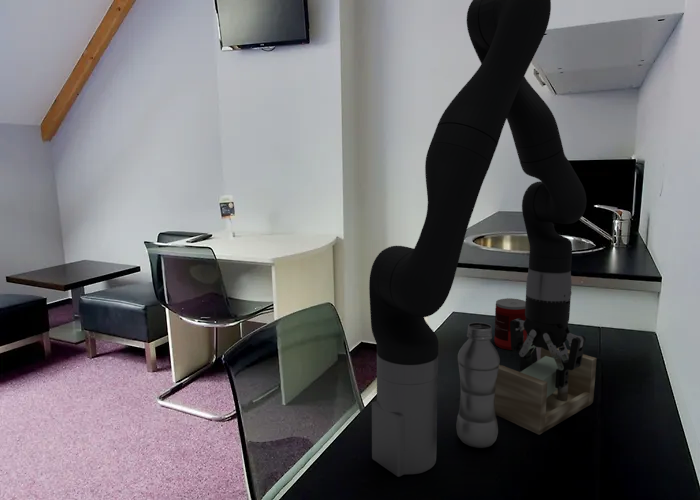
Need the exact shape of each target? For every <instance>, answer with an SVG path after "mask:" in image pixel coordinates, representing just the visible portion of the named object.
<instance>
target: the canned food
mask: <svg viewBox="0 0 700 500" xmlns="http://www.w3.org/2000/svg"><path fill="white" fill-rule="evenodd" d="M525 302H526V300H524V299H520V298H511V297H510V298H508V297H507V298H500V299H497V300H496V302H495V308H494V309H495V313H494V337H493V338H494V340H493V341H494V344H495V345H494V346H496V347H498V348H500V349H502V350H507V351H513V350H512V349H511V335H510V321H512V320H515V319H518V318H521V319H522V320H523V321H525V320H526V316H525ZM523 337H524V342H525V340H526V339H527V337H528V334H527V332H526V330H525V328H524V330H523Z"/></svg>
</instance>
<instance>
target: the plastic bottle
mask: <svg viewBox="0 0 700 500" xmlns="http://www.w3.org/2000/svg"><path fill="white" fill-rule="evenodd" d="M492 326H493V325H491V324H489V323H487V322H486V323H485V322H477V321H476V322H470V323H468V325H467V332H466V337H467V338H468V339H467V340H466V341H465V342H464V343H463V345H462V346H461V347H460V349H459V351H458V354H457V363H458V371H459V379H460V380H459V383H460V398H459V408H458V409H459V410H458V414H457V417H456V423H455V426H456V427H455V428H456V434H457V437H458V438H459V439H460V441H461V442H462V443H464V444H465V445H467V446H469V447H472V448H477V449H485V448H489V447H491V446H493V444H494V443H495V442H496V441H497V437H498V434H499V427H498V419H497V418H498V417H497V415H496V412H495V390H496V380H497V375H498V370H499V365H501V364H500V362H501V359H500V355H499V352H498V350H497V349H496V347H495V345H494V344H493V343H492V341H491V340H492V339H493V327H492Z"/></svg>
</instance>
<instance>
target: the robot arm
mask: <svg viewBox="0 0 700 500" xmlns="http://www.w3.org/2000/svg"><path fill="white" fill-rule="evenodd" d="M551 1H552V0H471V2H470V4H469V6H468V9H467V12H466V26H467V33H468V37H469V38H470V39H469V40H470V41H471V44H472V47H473V49H474V51H475V53H476V56H477V57H478V60H479V62H480V66H479V67H478V68H477V70H476V71H475V73H474V74H472V77H471V78H469V80H468V81H467V82H466V84H465V85H464V86H463V87H462V88H461V90H460V91H459V92H458V93H457V94H456V95H455V97H453V99H452V100H451V101H450V103H449V104H448V105H447V107H446V109H444V111H443V113H442V115H441V116H440V118H439V120H438V123H437V124H436V128H435V130H434V133H433V136H432V138H431V141H430V144H429V146H428V149H427V153H426V157H425V163H424V164H425V167H424V168H425V169H424V172H425V174H424V175H425V186H426V193H427V194H426V195H427V196H426V197H427V208H426V215H425V219H424V223H423V226H422V229H421V231H420V234H419V237H418V239H417V242H416V244H415V246H414V247H410V246H409V247H408V246H404V245H390V246H388V247H386V248H384V249H383V250H381V251H380V252H379V253H378V255H377V256H376V257H375V259H374V261H373V262H372V266H371V269H370V273H369V282H368V283H369V284H368V285H369V286H368V287H369V288H368V289H369V292H368V293H369V307H370V308H369V310H370V312H369V313H370V328H371V333H372V336H373V338H374V341H375V344H376V400H374V401H373V402H372V403H371V459H372V460H373V461H374V462H376V463H378V464H379V465H380V466H382V467H383V468H385V469H386V470H387V471H389V472H390V473H392V474H393V475H395V476H396V477H398V478H400V477H402V476H404V475H418V474H423V473H425V472H427V471H429V470H431V469H432V468H433V467H434V466H435V464H436V463H437V445H438V444H437V441H438V437H437V434H438V432H437V431H438V384H439V383H438V380H439V379H438V378H439V377H438V375H439V373H438V372H439V339H438V335H437V334H436V332H434V330H433V329H432V328H431V326H430V325H429V324H428V323H427V321H426V319H425V318H427V317H430V316H432V315H434V314H435V313H437V312H438V311H439V310H440V309H441V307H442V306H444V304H445V302H446V300H447V298H448V296H449V294H450V292H451V290H452V287H453V284H454V280H455V276H456V273H457V270H458V269H457V268H458V264H459V261H460V257H461V253H462V250H463V246H464V242H465V237H466V234H467V232H468V231H467V230H468V228H469V225H470V221H471V218H472V215H473V212H474V210H475V206H476V204H477V200H478V198H479V194H480V191H481V189H482V185H483V183H484V181H485V179H486V176H487V174H488V170H489V169H490V166H491V164H492V161H493V157H494V156H495V153H496V150H497V147H498V145H499V141H500V138H501V136H502V132H503V129H504V126H505V124H506V121H507V124H508V126H509V128H510V131H511V132H510V133H511V136H512V139H513V142H514V146H515V150H516V153H517V156H518V160H519V164H520V167H521V169H522V171H523V173H524V174H525V175H527V176H530V177H533V178H535V179H537V180H539V181H535V182H533V183H531V184H530V185H529V186H528V187H527V188H526V190H525V191H524V193H523V197H522V200H521V211H522V212H521V213H522V218H523V223H524V226H525V231H526V235H527V240H528V244H529V254H528V256H529V258H528V272H527V276H526V285H525V286H526V287H525V301H526V302H525V316H526V320H525V321H523V320H522V319H521V318H518V319H515V320H512V321H510V335H511V349H512V350H511V351H513V352H516V353H518V354H519V357H520V359H519V360H520V361H519V370H520V371H519V372H521V371H523V370H524V369H526V368H527V367H529V366H530V365H532V364H533V355H532V353H533V352H534V351H535V349H536V347H542V348H544V349H545V350H548V351H550V354H551V356H552V358H554V359H555V362H556V365H557V367H558V369H556V381H555V388H557V389H562V388H563V387H565V386H566V385H567V384H568V376H569V370H574V369H575V368H577V367H580V366H581V362H582V356H583V354H584V350H585V345H586V337H585V335H582V334H581V335H576V334H574V333H571V332H570V329H569V322H570V313H571V312H570V311H571V300H572V299H571V298H572V297H571V296H572V284H573V283H572V271H571V270H572V263H573V262H572V259H573V257H572V256H573V243H572V241H571V240H570V239H569V238H567V237H565V236H564V235H561V234H559V233H558V232H557V231H556V229H555V225H554V224H559V225H560V224H561V225H564V224H565V225H570V224H574V223H577V222H578V221H579V220H581V219H582V217H583V216H584V214H585V211H586V210H587V202H588V201H587V193H586V190H585V187H584V185H583V183H582V182H581V180H580V178H579V176H578V175H577V173H576V170H574V168H573V165H571V162H570V161H569V160H568V157H567V156H566V154H565V151H564V146H563V143H562V139H561V135H560V131H559V127H558V123H557V121H556V118H555V116H554V113H553V112H552V110H551V109H550V107H549V106H548V104H547V103H546V102H545V101H544V99H543V98H542V97H541V96H540V95H539V93H538V92H537V91H536V90H535V89H534V88H533V87H532V85H531V84H530V82H529V80H528V79H526V76H525V75H526V73H527V71H528V69H529V67H530V65H531V63H532V61H533V59H534V57H535V55H536V52H537V51H538V50H539V47H540V45H541V43H542V41H543V38H544V36H545V34H546V32H547V29H548V26H549V23H550V22H549V21H550V18H551V10H552V3H551ZM524 328H525V330H526V332H527V339H526V340H525V342H524V337H523V330H524ZM566 341H568V346H569V349H568V348H567V346H566V343H565V342H566ZM557 348H559V351H557ZM567 349H568V350H570V353H569V357H568V355H567V353H568V350H567Z"/></svg>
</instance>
